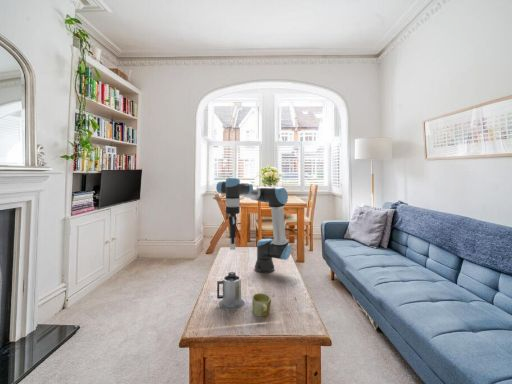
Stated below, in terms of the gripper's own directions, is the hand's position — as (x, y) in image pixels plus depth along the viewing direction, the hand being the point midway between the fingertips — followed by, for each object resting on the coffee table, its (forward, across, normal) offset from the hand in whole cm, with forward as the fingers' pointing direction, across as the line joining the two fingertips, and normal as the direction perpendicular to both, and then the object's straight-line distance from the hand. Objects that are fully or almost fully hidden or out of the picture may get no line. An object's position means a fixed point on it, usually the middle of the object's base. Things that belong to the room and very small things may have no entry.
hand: (232, 249), depth 137 cm
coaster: (+30, +1, 0) cm, 30 cm away
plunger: (+27, +1, 0) cm, 27 cm away
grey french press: (+30, +1, -2) cm, 30 cm away
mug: (+31, +14, +14) cm, 36 cm away
